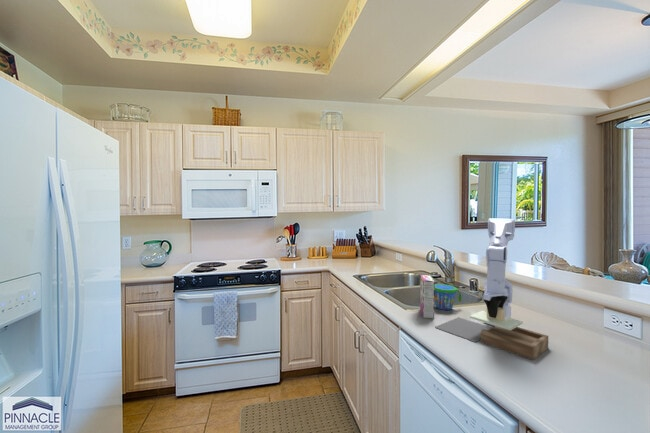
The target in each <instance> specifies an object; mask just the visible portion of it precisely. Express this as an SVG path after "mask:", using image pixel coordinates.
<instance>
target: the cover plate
mask: <svg viewBox="0 0 650 433" xmlns="http://www.w3.org/2000/svg"><path fill="white" fill-rule="evenodd" d="M469 319H472V320H475V321H479V322H482V323H484V322H485V323H484V324H487V323H488V325H490V324H491V325H490V326H493V325H494V326H493V327H495V326H498V327H501V328H504V329H508V330H512V329H514V328H516V327H520V326H521V325H522V324H523V321H522V320H520V319H515V318H512V317H511V318H508V317H505V309H504V308H500V307H498V311H497V316H496V318H493V317H489V313H488V309H487V308H486V311H485V310H483V309H482V310H479V311H478V312H476V313H473V314H471V315H469Z"/></svg>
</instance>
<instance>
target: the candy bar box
mask: <svg viewBox="0 0 650 433" xmlns="http://www.w3.org/2000/svg"><path fill="white" fill-rule="evenodd" d="M434 285H436V284H435V280H434V278H433V277H432V275H429V274H428V275H426V274H421V275H420V291H419V293H420V306H419V307H420V312H421V315H422V318H424V319H435V299H434Z"/></svg>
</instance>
